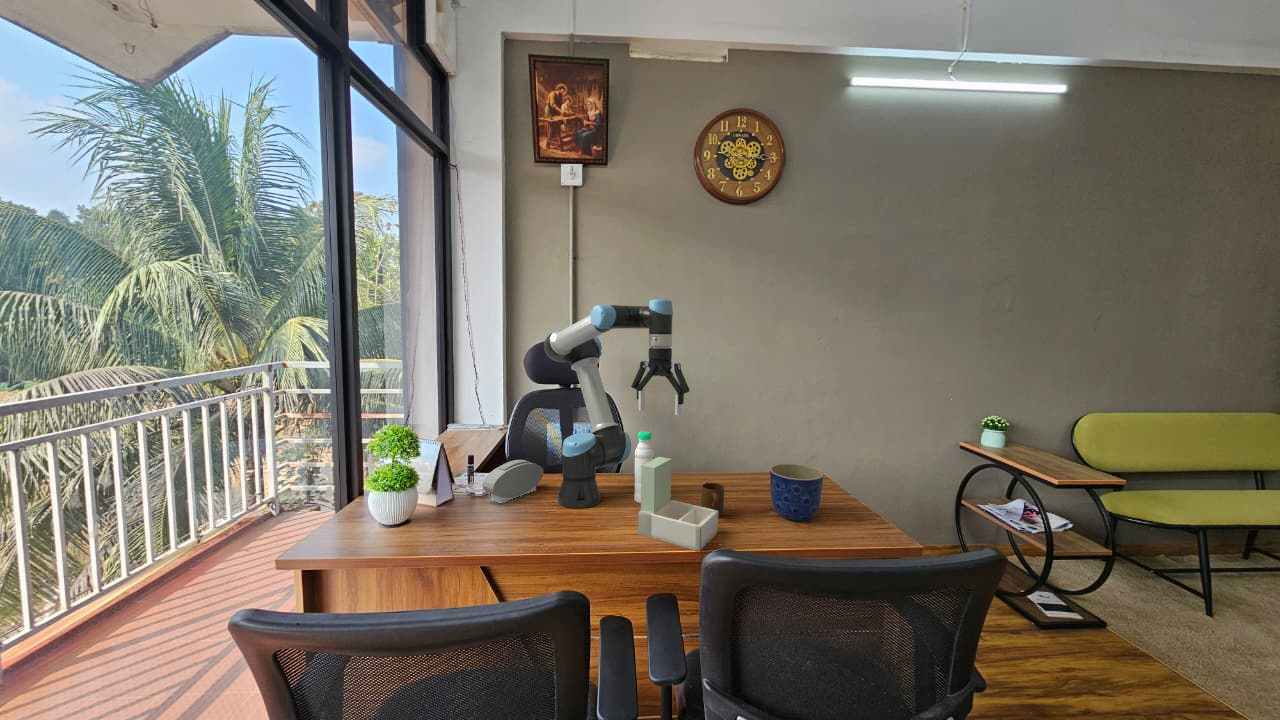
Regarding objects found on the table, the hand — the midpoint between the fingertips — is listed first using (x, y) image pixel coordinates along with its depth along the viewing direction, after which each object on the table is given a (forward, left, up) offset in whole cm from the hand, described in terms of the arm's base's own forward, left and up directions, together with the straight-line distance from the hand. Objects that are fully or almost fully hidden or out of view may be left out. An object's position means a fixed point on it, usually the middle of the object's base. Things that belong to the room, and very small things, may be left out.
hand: (659, 412), depth 155 cm
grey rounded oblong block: (-53, -13, -35) cm, 65 cm away
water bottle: (-10, +8, -35) cm, 37 cm away
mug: (+16, +9, -35) cm, 39 cm away
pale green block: (+4, -9, -28) cm, 29 cm away
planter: (+39, +24, -35) cm, 58 cm away
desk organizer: (+12, -9, -35) cm, 38 cm away
